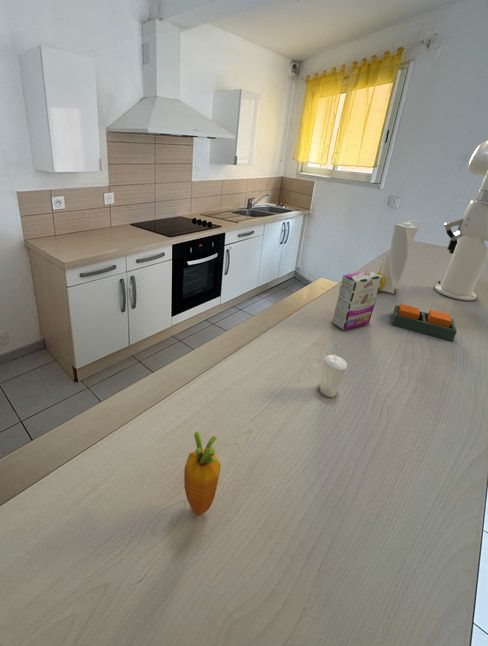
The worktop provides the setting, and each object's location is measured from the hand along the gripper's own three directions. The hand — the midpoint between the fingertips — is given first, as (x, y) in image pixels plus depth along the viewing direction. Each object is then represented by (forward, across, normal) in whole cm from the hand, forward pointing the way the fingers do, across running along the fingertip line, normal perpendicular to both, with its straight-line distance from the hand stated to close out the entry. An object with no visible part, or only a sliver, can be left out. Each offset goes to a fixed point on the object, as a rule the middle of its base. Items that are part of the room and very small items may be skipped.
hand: (470, 255), depth 96 cm
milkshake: (+22, +27, +56) cm, 66 cm away
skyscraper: (+22, +17, -15) cm, 32 cm away
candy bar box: (+22, +26, +21) cm, 40 cm away
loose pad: (+22, +3, +10) cm, 24 cm away
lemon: (+22, +21, -10) cm, 32 cm away
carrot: (+22, +39, +94) cm, 104 cm away
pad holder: (+22, +7, +10) cm, 25 cm away
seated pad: (+22, +11, +10) cm, 26 cm away
